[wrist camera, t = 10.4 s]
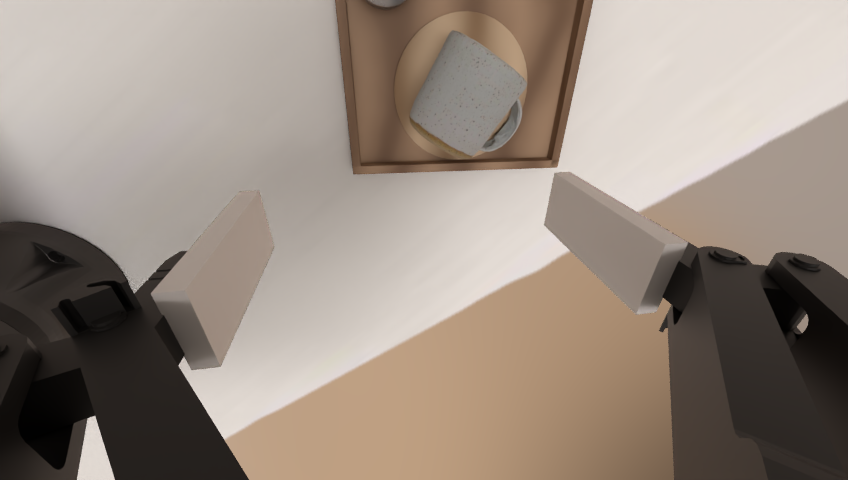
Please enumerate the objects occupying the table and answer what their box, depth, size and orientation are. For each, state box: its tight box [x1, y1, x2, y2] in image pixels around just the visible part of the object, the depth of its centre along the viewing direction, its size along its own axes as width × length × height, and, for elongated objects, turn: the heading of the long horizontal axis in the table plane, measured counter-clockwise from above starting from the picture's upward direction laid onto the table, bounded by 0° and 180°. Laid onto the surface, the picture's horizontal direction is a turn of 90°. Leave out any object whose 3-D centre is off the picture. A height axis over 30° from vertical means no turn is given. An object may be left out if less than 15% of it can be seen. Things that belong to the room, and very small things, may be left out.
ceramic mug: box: [409, 30, 527, 159], centre depth 29 cm, size 11×8×8 cm
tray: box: [335, 0, 593, 174], centre depth 31 cm, size 22×20×2 cm
